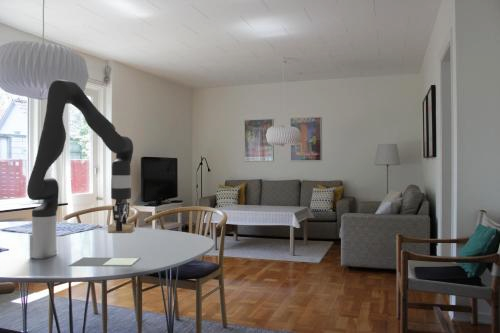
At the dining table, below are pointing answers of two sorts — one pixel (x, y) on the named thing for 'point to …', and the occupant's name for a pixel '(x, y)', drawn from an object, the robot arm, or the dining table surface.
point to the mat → (106, 262)
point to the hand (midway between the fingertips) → (121, 229)
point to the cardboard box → (125, 228)
